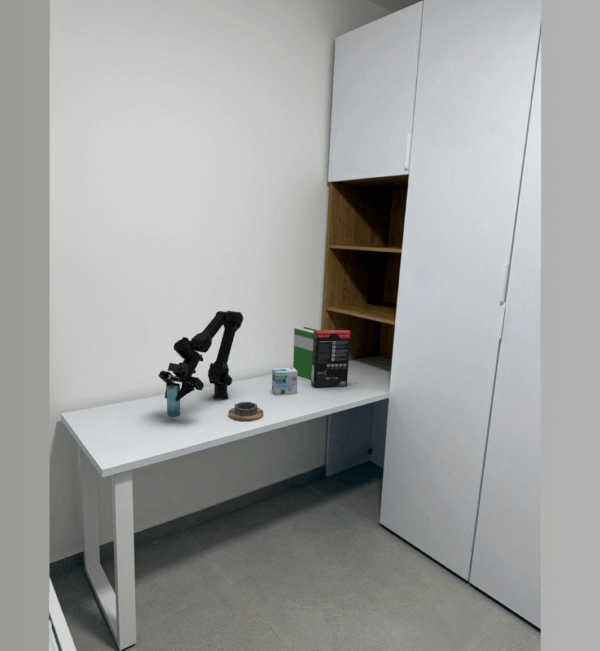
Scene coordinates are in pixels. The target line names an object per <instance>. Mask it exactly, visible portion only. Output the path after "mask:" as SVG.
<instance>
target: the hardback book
mask: <svg viewBox="0 0 600 651" xmlns="http://www.w3.org/2000/svg"><path fill="white" fill-rule="evenodd" d="M293 330H294V331H293V334H294V335H293V362H292V364H293V366H292V367H294V368H295V369H296V370H297V371H298V376H299V377H301V378H304V379H306V380H309V381H311V374H312V357H313V338H314V330H317V329H315V328H313V327H306V326H304V327H303V328H294V329H293ZM298 376H297V377H298Z"/></svg>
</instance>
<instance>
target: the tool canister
mask: <svg viewBox="0 0 600 651" xmlns="http://www.w3.org/2000/svg"><path fill="white" fill-rule="evenodd" d="M166 388H167V399H166V411H167V412H166V414H167V415H166V416H167V417H169V418H177V417H180V416H181V399H180V400H179V401H176V397H177V395H178V393H179V391H180V389H181V384H180V383H179V382H175V383H170V384H167V385H166V384H165V389H166Z"/></svg>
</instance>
